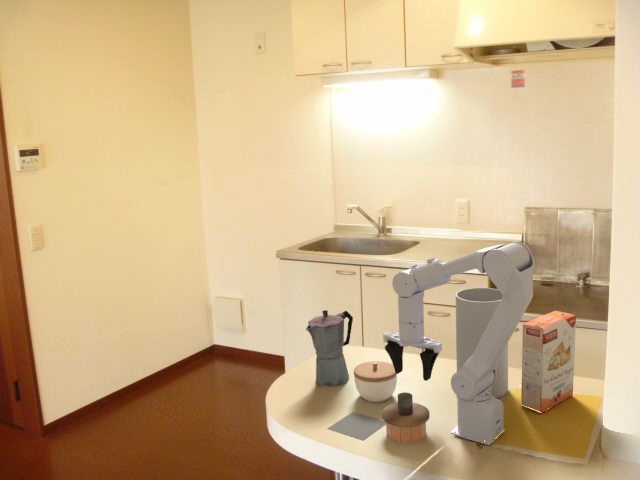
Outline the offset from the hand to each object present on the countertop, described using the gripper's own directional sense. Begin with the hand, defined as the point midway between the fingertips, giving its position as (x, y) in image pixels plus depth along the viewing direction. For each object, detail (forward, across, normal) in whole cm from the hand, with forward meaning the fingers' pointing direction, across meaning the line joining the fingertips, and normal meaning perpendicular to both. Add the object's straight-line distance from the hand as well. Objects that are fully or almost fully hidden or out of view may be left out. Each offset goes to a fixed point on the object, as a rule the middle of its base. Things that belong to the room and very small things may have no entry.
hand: (412, 375), depth 156 cm
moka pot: (+10, -28, +5) cm, 30 cm away
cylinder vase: (+10, +8, +20) cm, 24 cm away
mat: (+9, -7, -13) cm, 18 cm away
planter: (+9, +4, -10) cm, 14 cm away
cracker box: (+10, +24, +22) cm, 34 cm away
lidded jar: (+10, -12, +2) cm, 15 cm away
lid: (+5, +4, -10) cm, 12 cm away
